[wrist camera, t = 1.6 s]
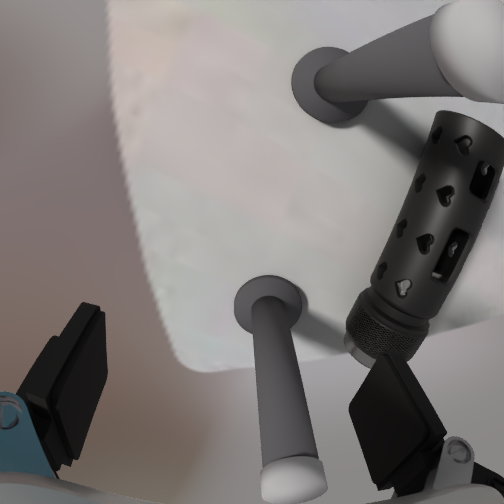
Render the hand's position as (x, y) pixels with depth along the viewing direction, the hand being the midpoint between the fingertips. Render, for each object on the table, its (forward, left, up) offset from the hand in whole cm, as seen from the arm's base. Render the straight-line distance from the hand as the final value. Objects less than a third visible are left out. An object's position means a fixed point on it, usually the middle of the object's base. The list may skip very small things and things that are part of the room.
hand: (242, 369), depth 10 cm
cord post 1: (-6, +13, -25) cm, 29 cm away
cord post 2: (-6, -13, -25) cm, 29 cm away
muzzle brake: (-20, 0, -26) cm, 33 cm away
